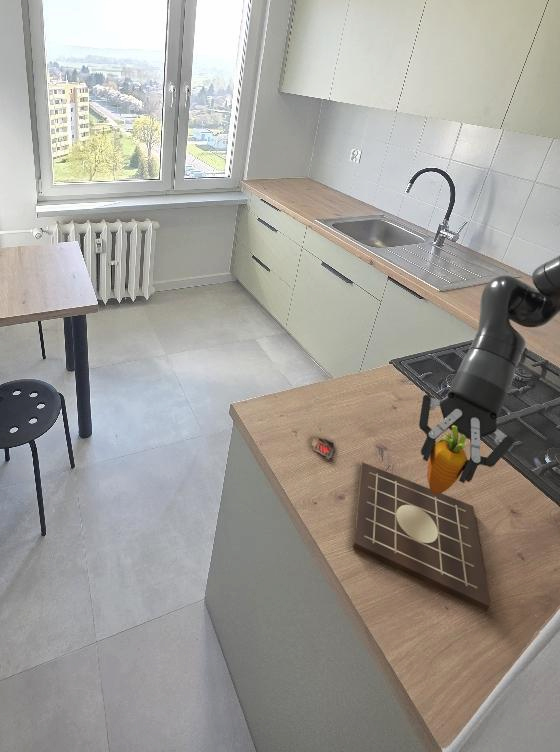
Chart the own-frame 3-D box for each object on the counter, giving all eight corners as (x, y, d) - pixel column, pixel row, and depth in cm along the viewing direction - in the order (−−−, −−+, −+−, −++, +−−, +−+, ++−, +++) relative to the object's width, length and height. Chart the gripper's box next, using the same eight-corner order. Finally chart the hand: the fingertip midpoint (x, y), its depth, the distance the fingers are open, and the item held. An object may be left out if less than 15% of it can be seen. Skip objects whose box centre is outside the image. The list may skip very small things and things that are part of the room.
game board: (470, 510, 81) (473, 505, 80) (486, 611, 66) (490, 606, 65) (360, 466, 88) (362, 461, 88) (352, 547, 74) (354, 542, 73)
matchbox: (333, 442, 94) (334, 440, 93) (333, 461, 89) (334, 459, 89) (312, 436, 95) (312, 434, 95) (311, 454, 91) (311, 452, 90)
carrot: (447, 512, 72) (475, 451, 66) (415, 494, 74) (440, 434, 68) (450, 491, 75) (478, 431, 69) (420, 475, 78) (444, 416, 72)
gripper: (437, 356, 75) (397, 442, 72) (537, 400, 66) (495, 501, 63) (437, 365, 81) (399, 446, 78) (529, 407, 72) (490, 500, 69)
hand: (443, 470), depth 70 cm, fingers closed on carrot, 5 cm apart
